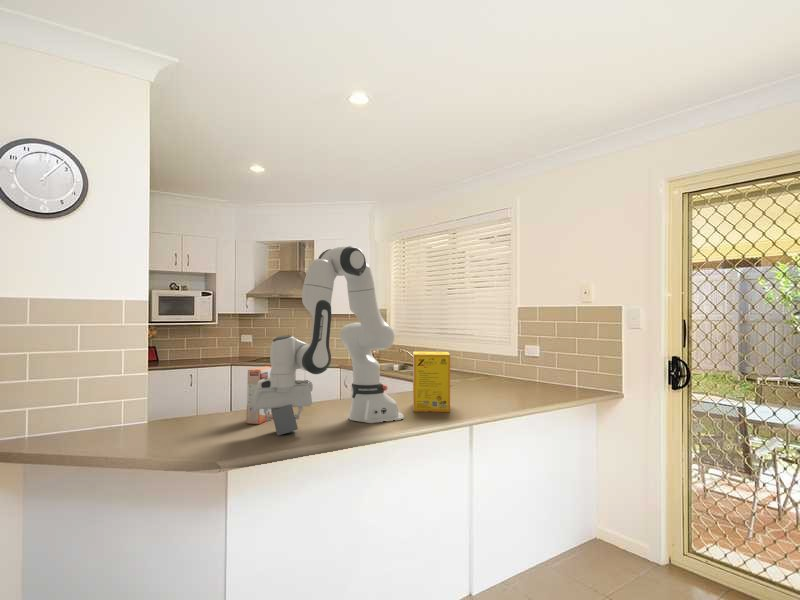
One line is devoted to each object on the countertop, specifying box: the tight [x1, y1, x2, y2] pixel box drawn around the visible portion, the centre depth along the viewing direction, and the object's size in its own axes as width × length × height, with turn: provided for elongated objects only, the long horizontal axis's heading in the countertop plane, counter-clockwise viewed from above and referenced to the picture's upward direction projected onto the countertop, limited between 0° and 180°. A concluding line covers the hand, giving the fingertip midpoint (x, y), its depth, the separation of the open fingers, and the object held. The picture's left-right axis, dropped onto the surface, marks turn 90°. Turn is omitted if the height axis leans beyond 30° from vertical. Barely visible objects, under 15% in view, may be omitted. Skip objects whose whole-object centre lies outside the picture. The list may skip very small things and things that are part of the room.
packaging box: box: [412, 351, 451, 413], centre depth 214 cm, size 16×16×25 cm
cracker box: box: [245, 365, 273, 425], centre depth 187 cm, size 14×6×21 cm, turn 168°
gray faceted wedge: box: [271, 404, 299, 437], centre depth 167 cm, size 7×7×9 cm
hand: (283, 420), depth 167 cm, fingers open, 8 cm apart
